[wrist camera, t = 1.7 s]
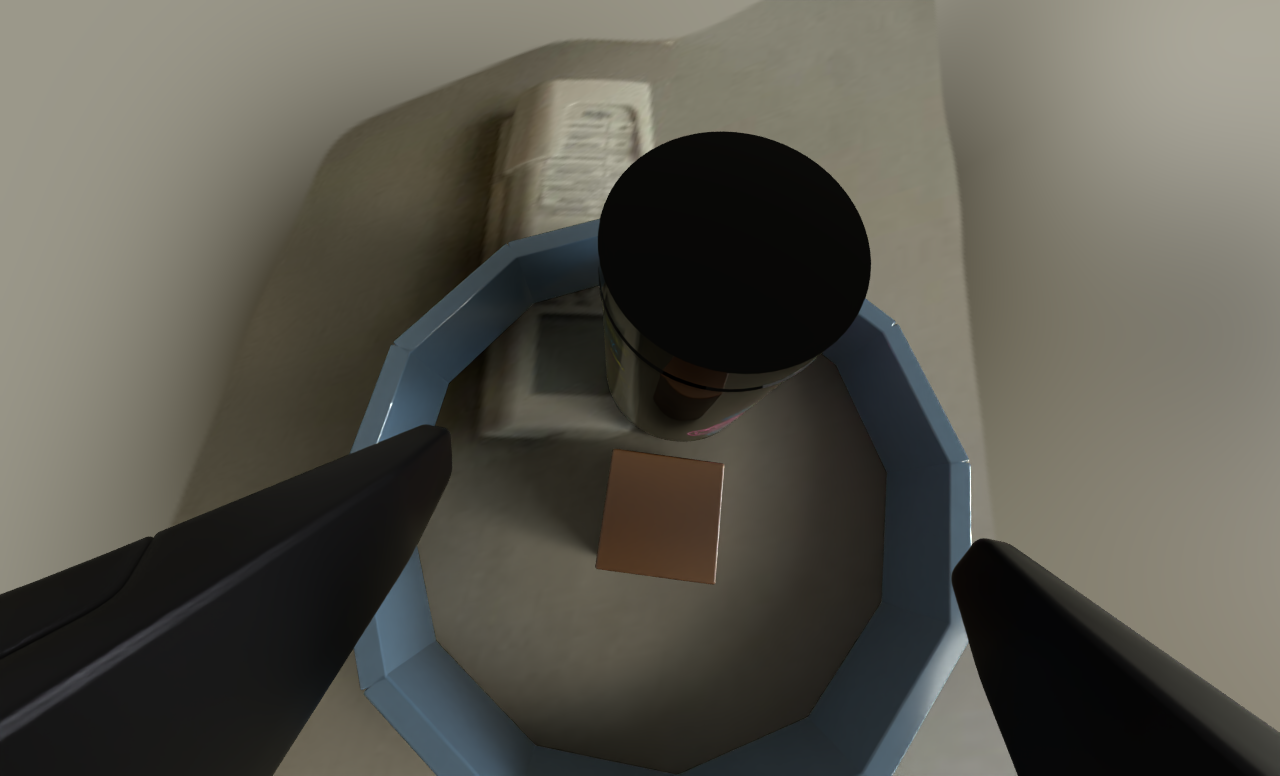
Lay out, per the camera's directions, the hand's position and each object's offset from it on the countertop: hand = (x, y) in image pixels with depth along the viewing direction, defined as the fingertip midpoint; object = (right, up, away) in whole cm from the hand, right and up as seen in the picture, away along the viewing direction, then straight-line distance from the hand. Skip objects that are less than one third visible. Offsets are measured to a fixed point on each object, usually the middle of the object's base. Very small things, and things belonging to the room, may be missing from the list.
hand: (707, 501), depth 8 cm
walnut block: (-1, -3, +12) cm, 12 cm away
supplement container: (+1, +3, +13) cm, 14 cm away
